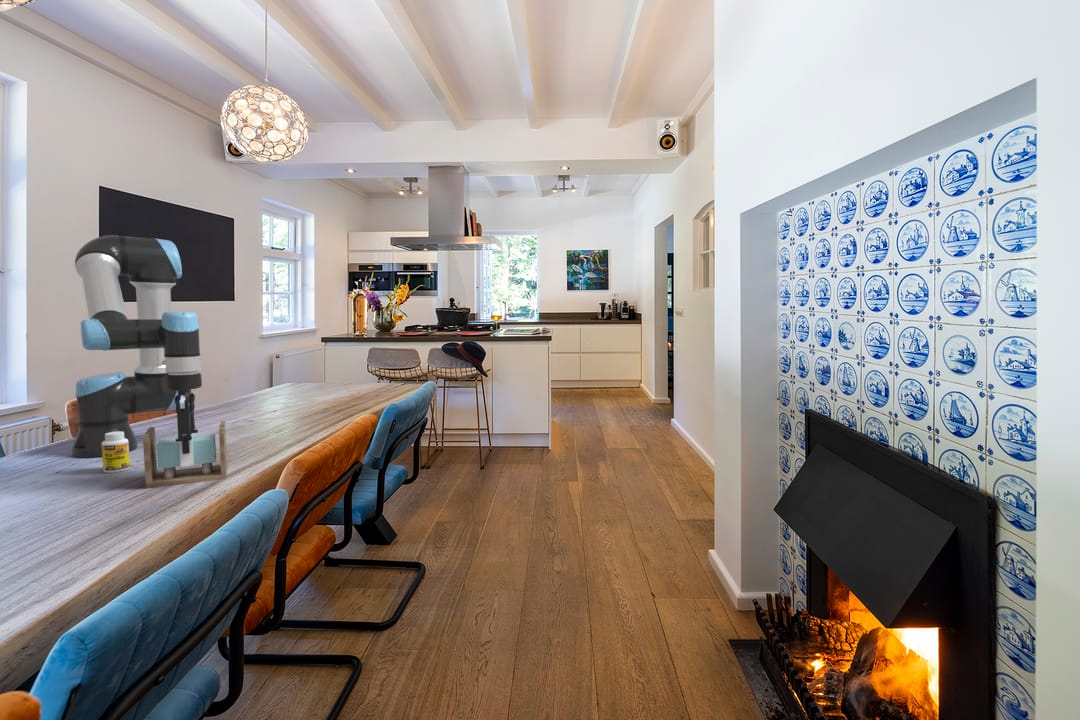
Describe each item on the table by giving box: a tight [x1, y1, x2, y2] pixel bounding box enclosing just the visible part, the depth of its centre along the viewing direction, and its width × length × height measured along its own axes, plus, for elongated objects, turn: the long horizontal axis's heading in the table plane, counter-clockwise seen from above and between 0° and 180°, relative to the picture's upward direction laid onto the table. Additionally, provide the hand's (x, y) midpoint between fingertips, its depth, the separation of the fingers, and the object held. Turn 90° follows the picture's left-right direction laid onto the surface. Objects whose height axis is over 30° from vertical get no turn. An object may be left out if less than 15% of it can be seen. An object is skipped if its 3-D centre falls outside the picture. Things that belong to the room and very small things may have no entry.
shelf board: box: [156, 433, 217, 470], centre depth 132 cm, size 6×12×6 cm, turn 121°
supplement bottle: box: [101, 431, 131, 474], centre depth 138 cm, size 6×6×10 cm
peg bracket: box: [142, 420, 228, 489], centre depth 132 cm, size 10×16×13 cm, turn 119°
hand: (188, 461), depth 132 cm, fingers closed on shelf board, 6 cm apart
